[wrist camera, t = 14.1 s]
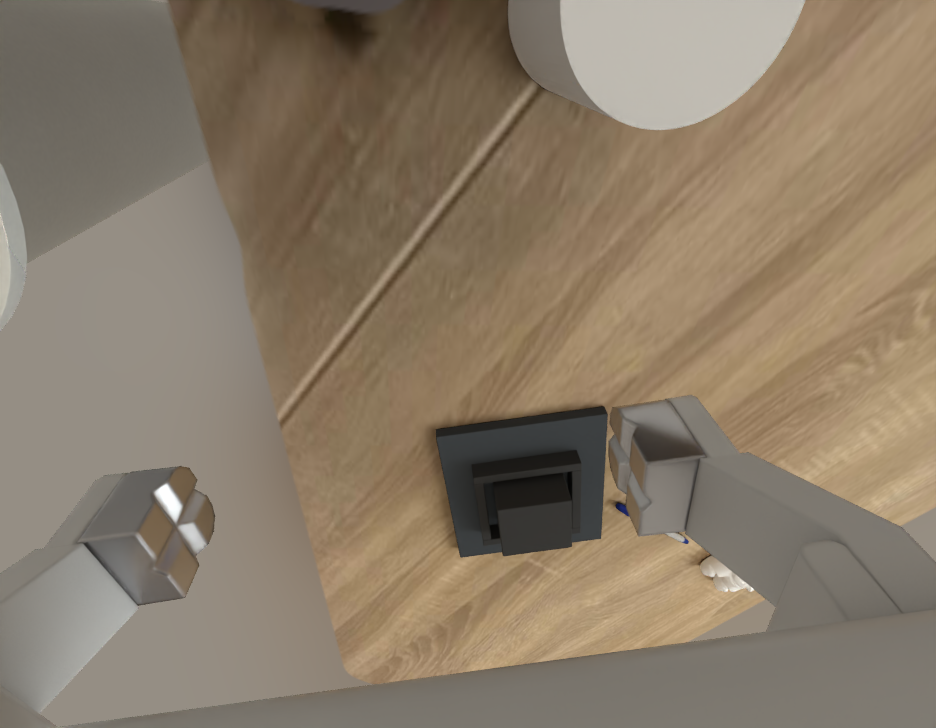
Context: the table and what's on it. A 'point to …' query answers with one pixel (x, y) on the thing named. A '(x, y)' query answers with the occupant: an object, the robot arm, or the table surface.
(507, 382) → the table surface
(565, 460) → the socket base plate
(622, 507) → the ballpoint pen
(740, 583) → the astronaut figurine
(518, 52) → the cup
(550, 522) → the black box
